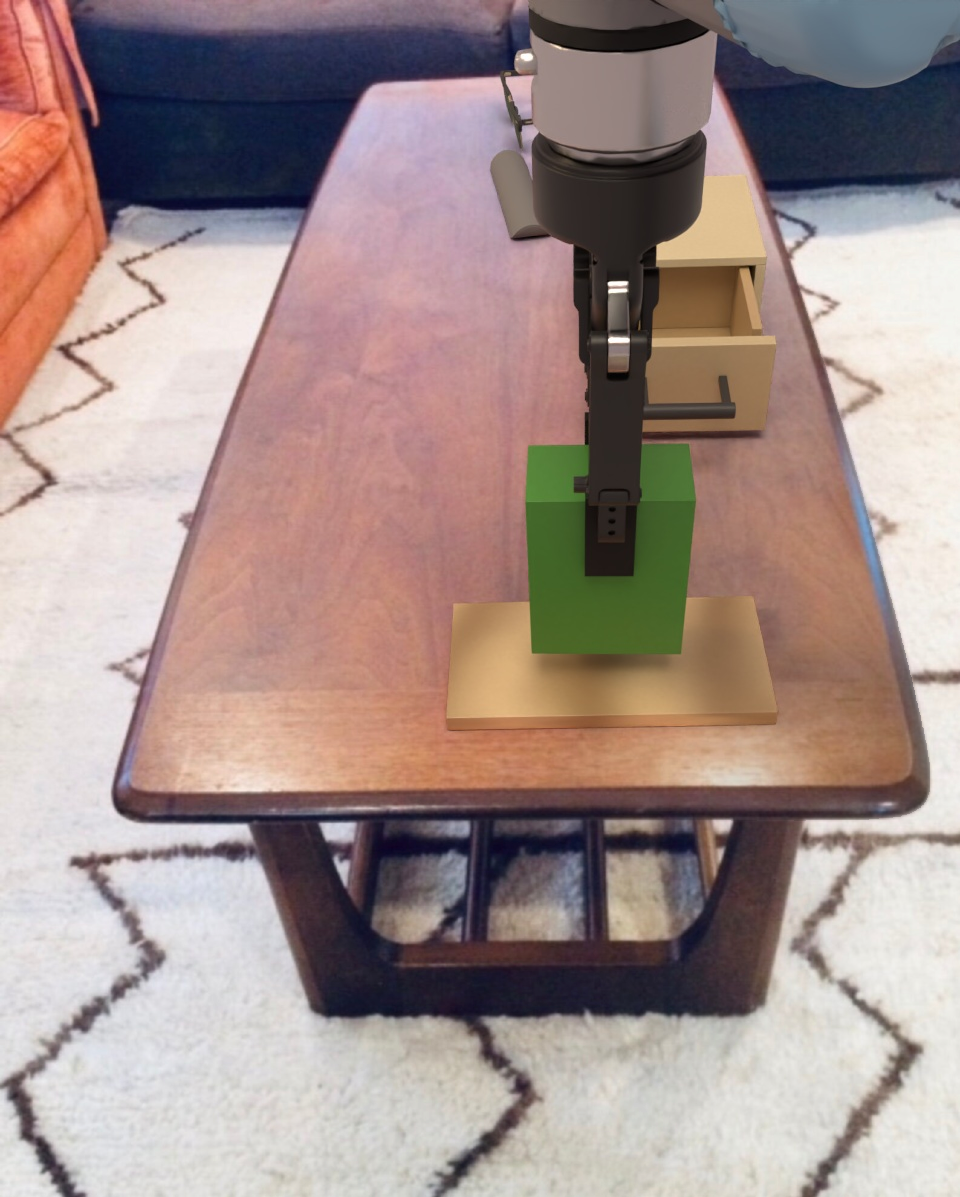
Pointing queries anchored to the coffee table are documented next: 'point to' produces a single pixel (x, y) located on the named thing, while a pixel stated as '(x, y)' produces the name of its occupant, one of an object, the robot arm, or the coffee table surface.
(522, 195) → the half round rod
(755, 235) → the cabinet
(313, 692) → the coffee table surface
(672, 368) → the drawer
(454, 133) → the coffee table surface
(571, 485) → the tall green block
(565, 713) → the board
